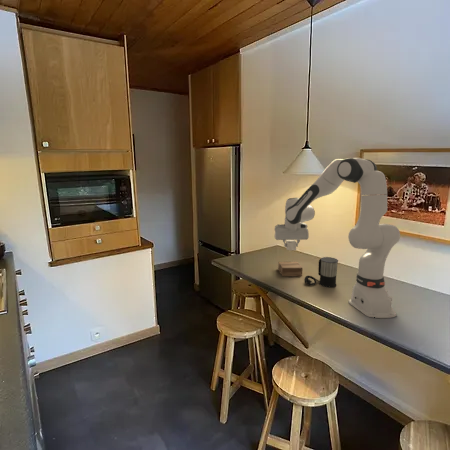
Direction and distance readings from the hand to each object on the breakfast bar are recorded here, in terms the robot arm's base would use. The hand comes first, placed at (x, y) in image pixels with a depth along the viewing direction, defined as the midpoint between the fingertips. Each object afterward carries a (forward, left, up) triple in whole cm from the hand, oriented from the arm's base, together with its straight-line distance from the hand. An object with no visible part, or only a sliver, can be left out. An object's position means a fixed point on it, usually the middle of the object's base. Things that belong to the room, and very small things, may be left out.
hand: (290, 246), depth 192 cm
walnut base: (0, 0, -17) cm, 17 cm away
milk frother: (-19, -13, -17) cm, 29 cm away
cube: (0, 0, -2) cm, 2 cm away
